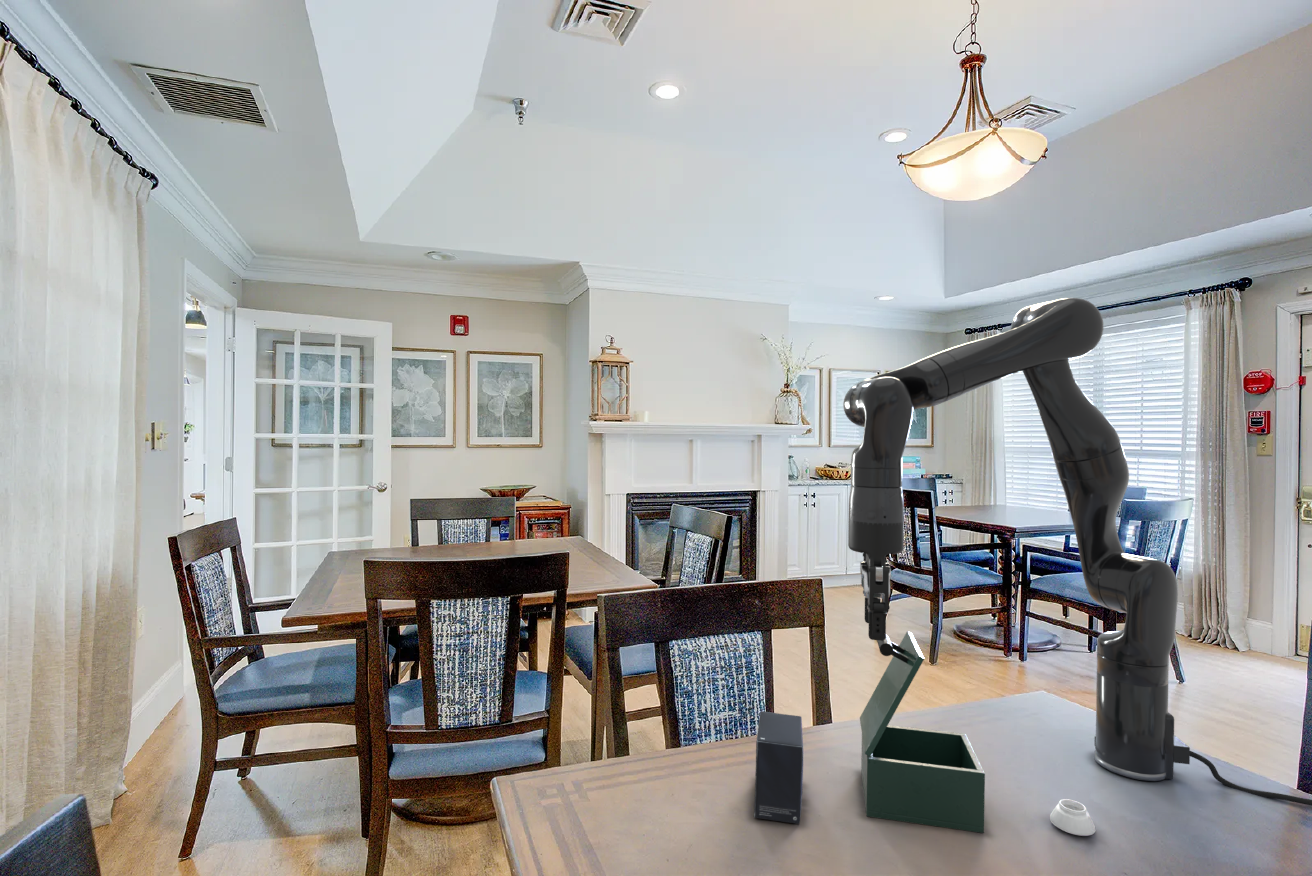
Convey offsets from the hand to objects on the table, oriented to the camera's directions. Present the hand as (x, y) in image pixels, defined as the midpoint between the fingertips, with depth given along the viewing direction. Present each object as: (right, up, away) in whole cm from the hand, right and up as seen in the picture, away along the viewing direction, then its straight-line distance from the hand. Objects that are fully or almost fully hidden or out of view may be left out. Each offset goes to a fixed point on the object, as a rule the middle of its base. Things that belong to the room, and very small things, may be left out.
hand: (874, 630), depth 96 cm
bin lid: (+2, -9, -1) cm, 9 cm away
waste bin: (+6, -24, -1) cm, 24 cm away
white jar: (+24, -24, -7) cm, 35 cm away
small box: (-14, -24, -2) cm, 27 cm away
